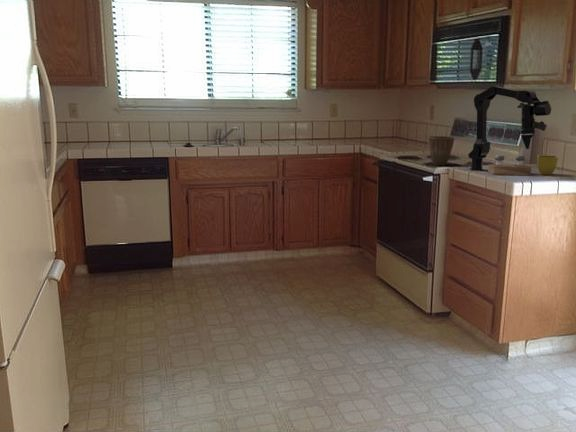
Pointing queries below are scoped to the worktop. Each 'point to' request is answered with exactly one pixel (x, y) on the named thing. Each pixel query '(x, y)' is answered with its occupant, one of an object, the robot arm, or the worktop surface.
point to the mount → (509, 170)
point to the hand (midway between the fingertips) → (527, 148)
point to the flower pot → (547, 164)
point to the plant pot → (440, 149)
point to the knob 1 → (499, 160)
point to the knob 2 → (520, 160)
